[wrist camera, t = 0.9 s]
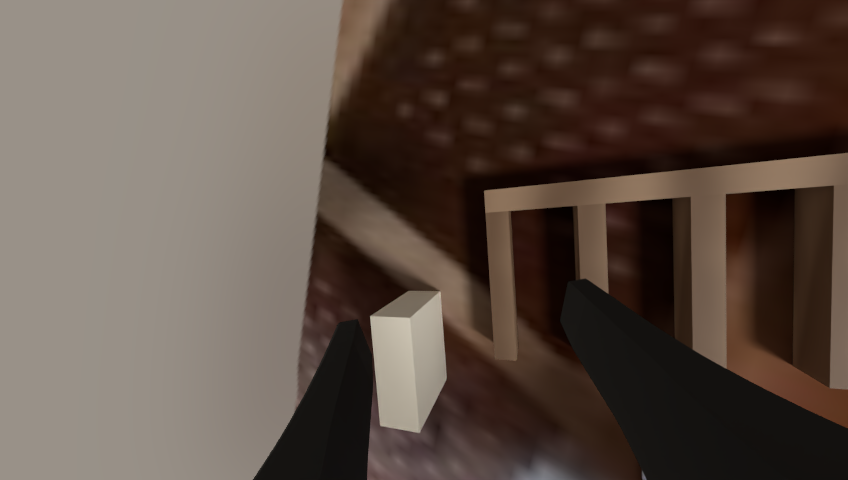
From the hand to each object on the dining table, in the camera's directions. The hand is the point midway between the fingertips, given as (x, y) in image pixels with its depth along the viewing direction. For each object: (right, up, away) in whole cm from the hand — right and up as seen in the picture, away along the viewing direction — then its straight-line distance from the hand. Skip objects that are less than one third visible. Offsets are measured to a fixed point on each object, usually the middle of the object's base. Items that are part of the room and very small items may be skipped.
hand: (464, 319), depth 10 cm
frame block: (-1, -6, +17) cm, 18 cm away
